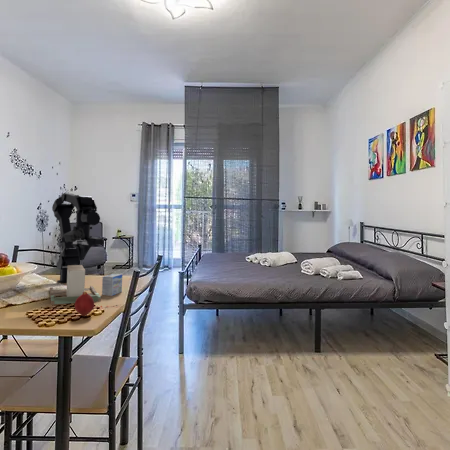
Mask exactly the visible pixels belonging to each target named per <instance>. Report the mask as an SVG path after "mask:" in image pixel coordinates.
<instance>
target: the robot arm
mask: <svg viewBox="0 0 450 450" xmlns="http://www.w3.org/2000/svg"><path fill="white" fill-rule="evenodd" d="M51 208H52V211H53V215H54V217H55V218H56V219H57V220H58V224H59V232H60V238H61V246H62V250H61V252H60V254H59V258H58V260H57V262H56V269H58V270H59V280H56V282H57V283H64V284H67V265H81V261H84V260H85V258H86V256H87V254H88V252H89V250H90V249H91V248H92V247H93V246H101V245H102V246H103V245H104V243H105V242H104V239H103V237H92V235H91V230H93V226H96V225H98V224H99V223H100V220H101V217H100V214H99V213H98V210H97V209H98V207H97V205H96V202H95V199H94V198H93V196H92V195H84V194H83V195H82V194H74V193H70V192H64V193H61V196H59V197H58V198H56V199H55V200H54V202H53V204H52V207H51ZM74 209H76V211H75V214H76V217H75V219H76V220H75V225H73V227H71V219H70V218H71V216H72V214H73V210H74Z"/></svg>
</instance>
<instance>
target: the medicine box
mask: <svg viewBox="0 0 450 450" xmlns="http://www.w3.org/2000/svg"><path fill="white" fill-rule="evenodd" d="M101 285H102V286H101V294H102V296H109V297H110V296H111V297H112V296H115V295H117V294H120V293H122V292H123V274H120V273H112V274H107V275H105V276H102V284H101Z"/></svg>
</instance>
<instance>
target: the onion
mask: <svg viewBox="0 0 450 450" xmlns="http://www.w3.org/2000/svg"><path fill="white" fill-rule="evenodd" d="M88 294H89V293H87V291H84V292H83V294H82V295H80V296H79V297H78V298H77V300H76V301H75V303H74V309H75V311H76V312H77V313H78V314H80V316H82V317H86V316H87V315H89V314H90V313H91V312H92V311H93V310H94V308H95V302H94V300H93V298H92V297H91V296H90V295H88ZM85 315H86V316H85Z"/></svg>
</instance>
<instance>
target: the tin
mask: <svg viewBox="0 0 450 450" xmlns="http://www.w3.org/2000/svg"><path fill="white" fill-rule="evenodd" d="M85 284H86V269H85V268H84V266H83V264H80V265H67V283H66V289H67V292H66V295H67V297H73V296H80V295H82V294H83V292H84V288H85V286H86V285H85Z"/></svg>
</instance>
